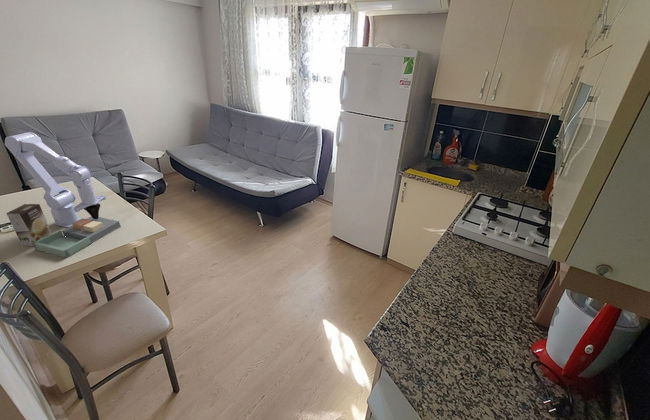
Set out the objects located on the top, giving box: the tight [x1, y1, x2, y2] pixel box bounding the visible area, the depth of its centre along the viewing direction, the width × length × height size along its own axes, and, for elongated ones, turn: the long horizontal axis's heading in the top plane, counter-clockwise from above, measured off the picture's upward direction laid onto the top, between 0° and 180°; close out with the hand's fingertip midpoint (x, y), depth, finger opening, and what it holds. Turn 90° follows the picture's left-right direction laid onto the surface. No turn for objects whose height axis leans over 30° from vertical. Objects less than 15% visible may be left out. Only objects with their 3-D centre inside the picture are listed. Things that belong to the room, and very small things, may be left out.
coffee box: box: [6, 203, 53, 247], centre depth 127 cm, size 9×6×16 cm
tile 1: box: [72, 218, 91, 230], centre depth 137 cm, size 5×5×2 cm
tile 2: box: [83, 221, 103, 232], centre depth 135 cm, size 5×5×2 cm
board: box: [61, 216, 121, 244], centre depth 139 cm, size 16×15×3 cm
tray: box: [33, 229, 93, 259], centre depth 127 cm, size 17×11×4 cm, turn 76°
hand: (95, 218), depth 143 cm, fingers closed
